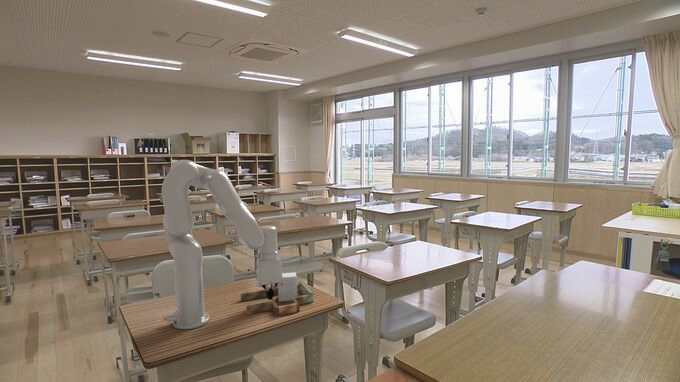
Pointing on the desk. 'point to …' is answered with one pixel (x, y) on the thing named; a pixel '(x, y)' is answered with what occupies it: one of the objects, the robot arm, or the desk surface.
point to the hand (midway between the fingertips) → (270, 298)
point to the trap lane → (272, 305)
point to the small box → (287, 287)
